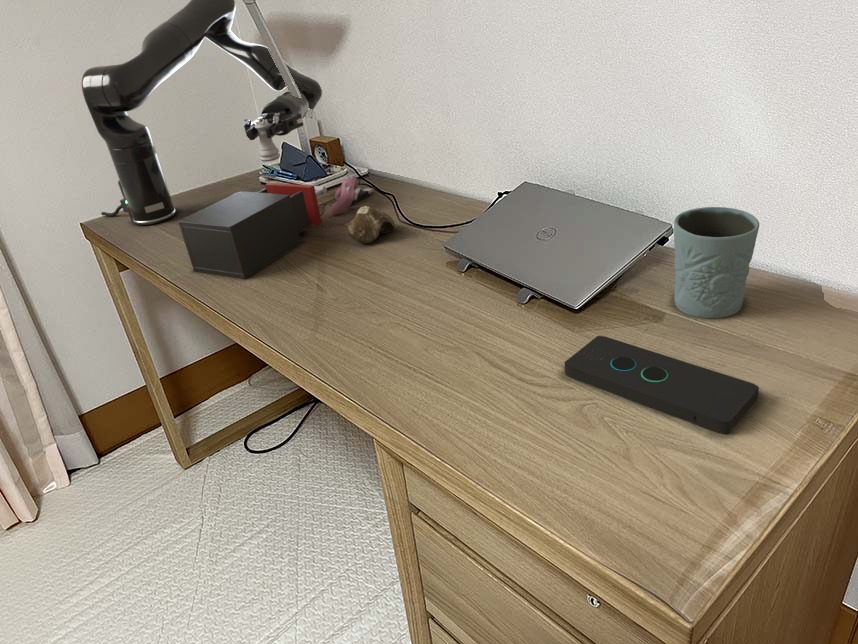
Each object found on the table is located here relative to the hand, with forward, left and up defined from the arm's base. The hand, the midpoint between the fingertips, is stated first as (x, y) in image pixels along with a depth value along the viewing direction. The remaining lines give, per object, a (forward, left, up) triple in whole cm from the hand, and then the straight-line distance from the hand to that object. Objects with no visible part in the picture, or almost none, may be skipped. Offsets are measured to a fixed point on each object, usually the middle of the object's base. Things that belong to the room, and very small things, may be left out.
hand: (259, 134), depth 141 cm
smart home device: (+89, -38, -17) cm, 98 cm away
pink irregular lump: (+14, +6, -17) cm, 23 cm away
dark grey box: (+10, -21, -17) cm, 29 cm away
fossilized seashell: (+29, -7, -17) cm, 35 cm away
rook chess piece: (-1, +3, -6) cm, 7 cm away
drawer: (+10, -9, -16) cm, 21 cm away
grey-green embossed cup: (+91, -17, -17) cm, 94 cm away
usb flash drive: (+12, +11, -17) cm, 24 cm away
